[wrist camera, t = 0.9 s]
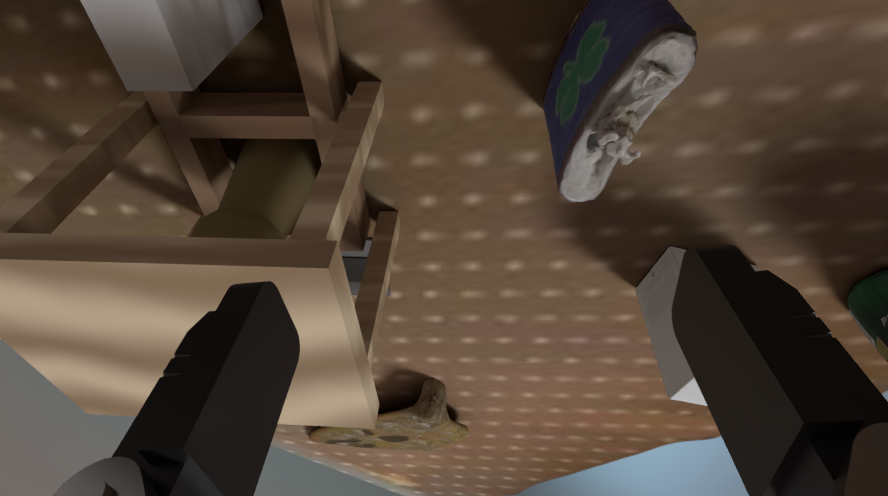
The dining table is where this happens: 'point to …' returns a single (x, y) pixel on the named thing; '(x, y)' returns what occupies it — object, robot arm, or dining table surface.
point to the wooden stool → (193, 279)
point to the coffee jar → (872, 309)
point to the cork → (264, 190)
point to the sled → (226, 114)
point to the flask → (611, 86)
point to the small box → (668, 326)
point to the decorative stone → (403, 426)
